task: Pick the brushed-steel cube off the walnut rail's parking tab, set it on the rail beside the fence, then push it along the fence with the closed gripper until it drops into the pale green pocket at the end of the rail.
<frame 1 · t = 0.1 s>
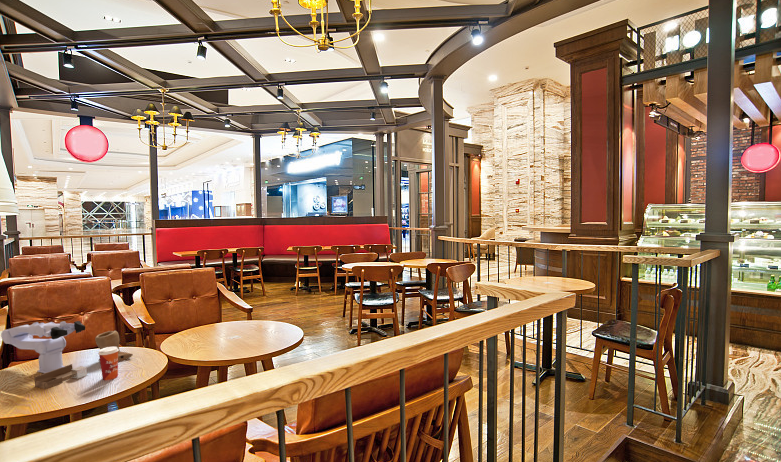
hand: (75, 330, 182), 22 cm above the table, tool horizontal, fingers open, 7 cm apart
steel cube: (79, 376, 180), point 1 cm above the table, touching walnut rail
paper cup: (110, 379, 178), on the table
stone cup: (113, 360, 201), on the table
walnut rail: (67, 378, 180), on the table
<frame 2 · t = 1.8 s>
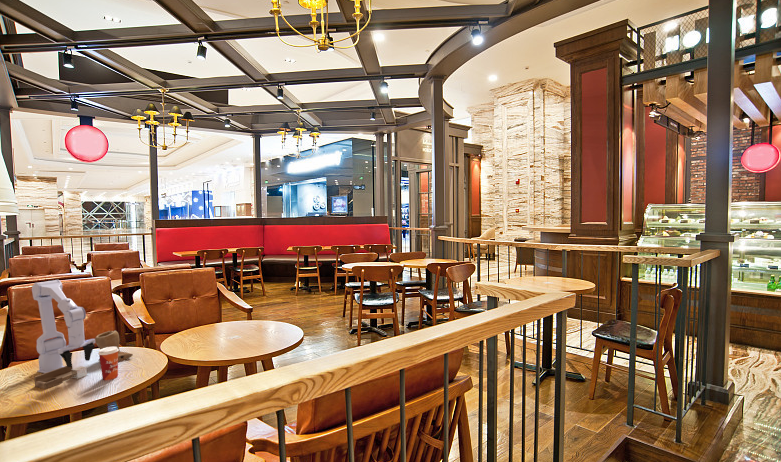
hand: (78, 363, 179), 7 cm above the table, tool pointing down, fingers open, 7 cm apart
nothing on the table moved.
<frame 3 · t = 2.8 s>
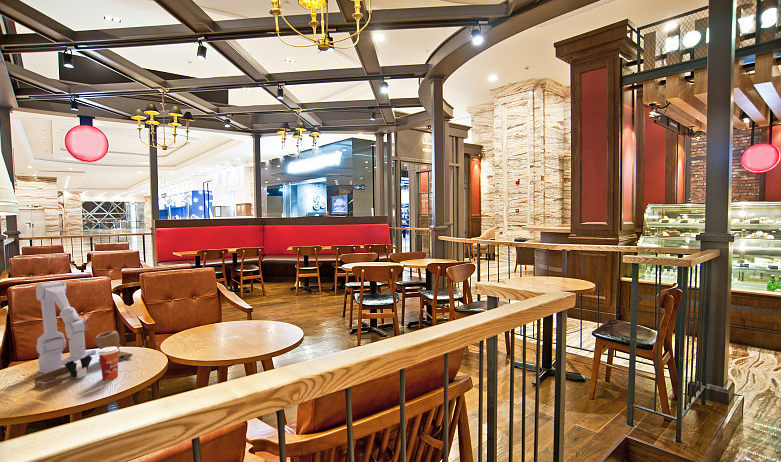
hand: (79, 375, 180), 1 cm above the table, tool pointing down, fingers closed on steel cube, 4 cm apart
steel cube: (79, 376, 180), point 1 cm above the table, touching gripper, walnut rail
everything else where it was.
when the fingers open (4 cm above the table, at t = 5.1 s): steel cube stays where it is, resting on walnut rail.
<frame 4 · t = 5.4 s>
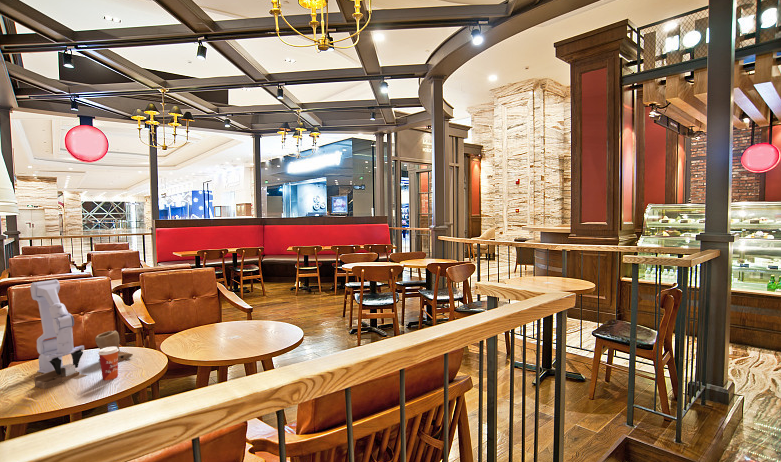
hand: (67, 370, 179), 4 cm above the table, tool pointing down, fingers open, 6 cm apart
steel cube: (68, 374, 179), point 2 cm above the table, touching walnut rail
everything else where it was.
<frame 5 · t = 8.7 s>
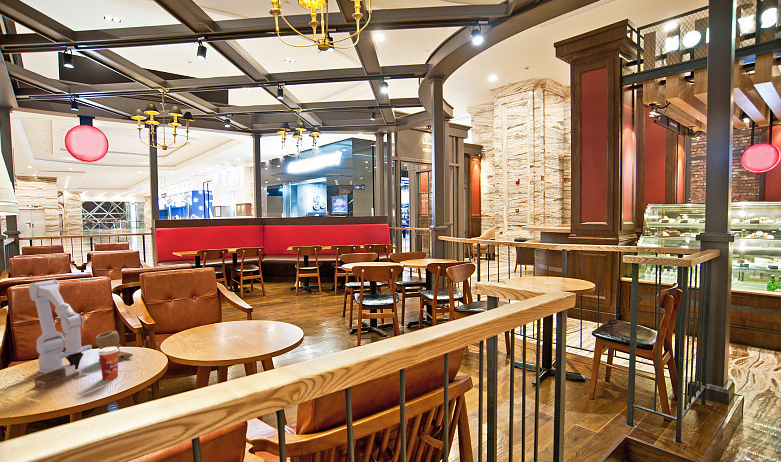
hand: (75, 369, 182), 3 cm above the table, tool pointing down, fingers closed
steel cube: (67, 374, 179), point 2 cm above the table, touching gripper, walnut rail
everything else where it was.
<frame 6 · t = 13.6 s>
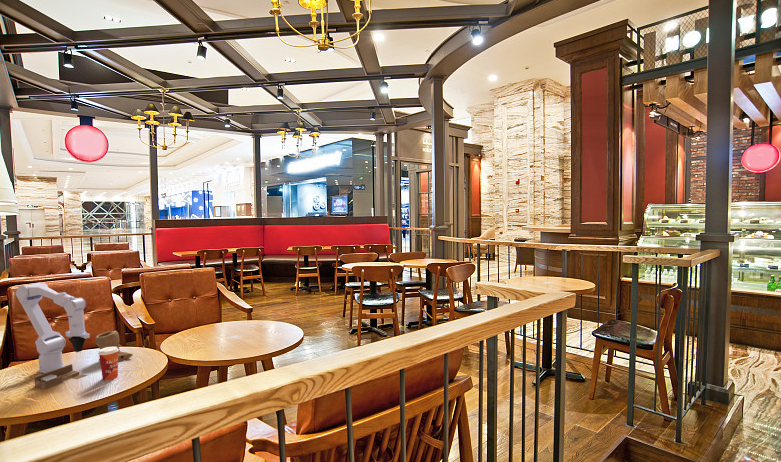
hand: (78, 351, 187), 10 cm above the table, tool pointing down, fingers closed
steel cube: (54, 379, 174), point 2 cm above the table, tilted 90°, touching walnut rail
everything else where it was.
at the end: steel cube 2.0 cm from the target spot, point 2.2 cm above the table; the gripper is holding nothing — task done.
